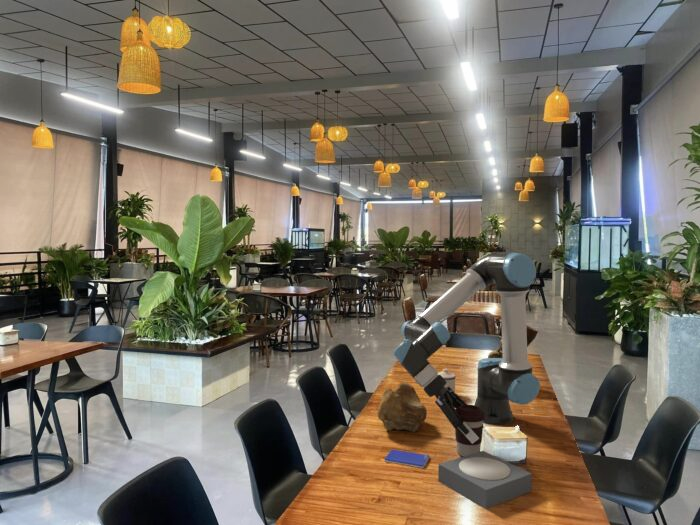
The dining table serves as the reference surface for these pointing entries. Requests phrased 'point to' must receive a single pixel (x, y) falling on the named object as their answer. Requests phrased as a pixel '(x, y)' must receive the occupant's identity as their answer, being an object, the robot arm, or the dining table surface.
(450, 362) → the dining table surface
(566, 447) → the dining table surface
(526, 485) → the slate stand
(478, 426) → the coffee cup
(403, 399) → the rough brown rock
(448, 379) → the teacup with lid
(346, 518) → the dining table surface
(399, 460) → the hard drive
